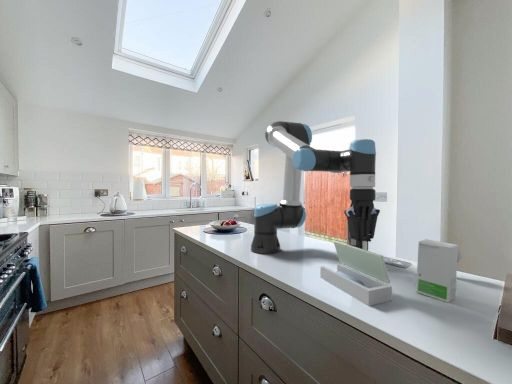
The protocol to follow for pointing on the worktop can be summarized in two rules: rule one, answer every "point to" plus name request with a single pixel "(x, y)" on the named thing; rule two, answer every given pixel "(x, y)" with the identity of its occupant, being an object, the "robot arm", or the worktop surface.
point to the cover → (362, 261)
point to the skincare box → (437, 269)
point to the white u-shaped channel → (358, 285)
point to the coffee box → (349, 240)
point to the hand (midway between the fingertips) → (362, 260)
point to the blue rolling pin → (351, 278)
